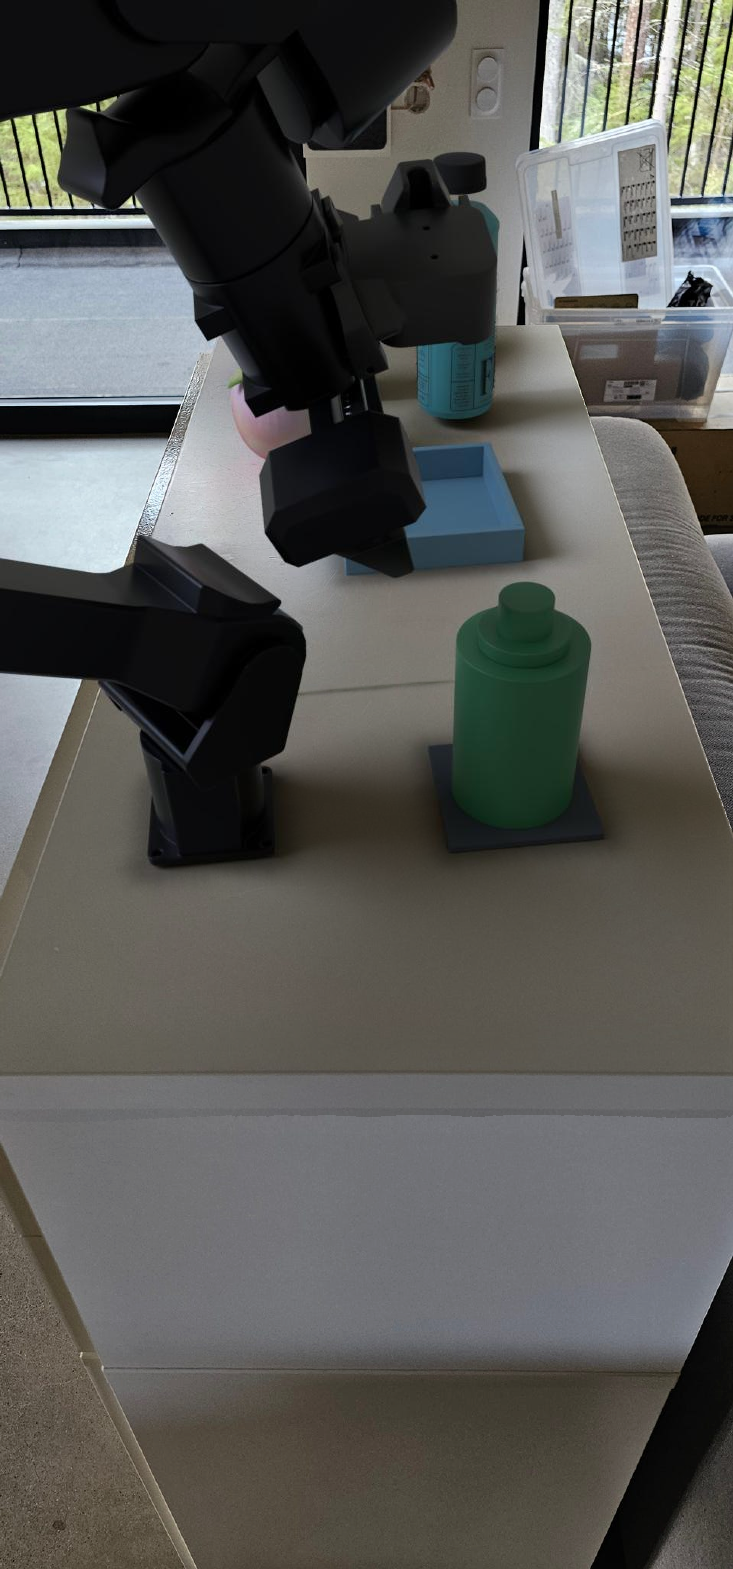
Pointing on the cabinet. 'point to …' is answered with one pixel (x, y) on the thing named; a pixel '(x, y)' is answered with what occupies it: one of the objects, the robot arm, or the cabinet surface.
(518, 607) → the green bottle
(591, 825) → the mat
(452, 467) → the tray
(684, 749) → the cabinet surface
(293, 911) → the cabinet surface
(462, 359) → the beverage bottle
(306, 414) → the decorative fruit
